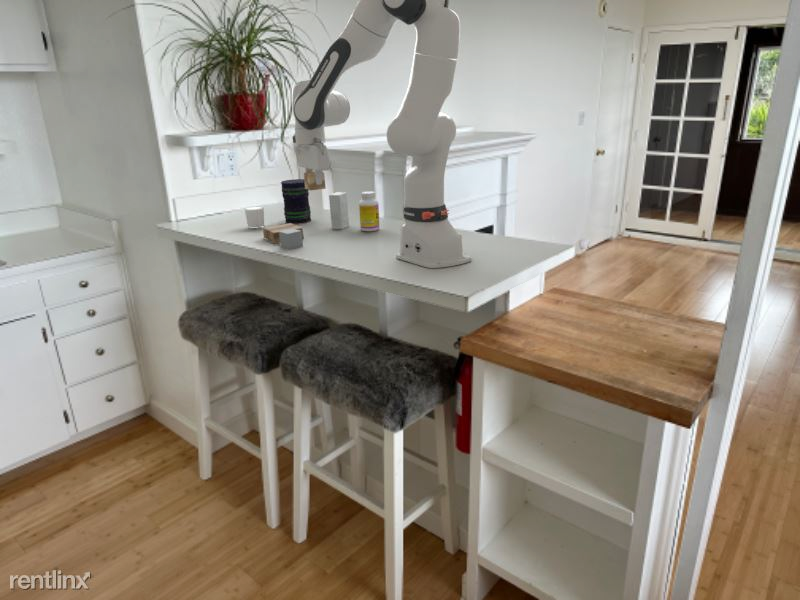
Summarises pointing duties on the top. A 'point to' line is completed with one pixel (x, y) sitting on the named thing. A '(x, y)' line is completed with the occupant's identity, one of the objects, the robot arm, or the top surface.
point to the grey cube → (290, 238)
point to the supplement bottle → (369, 212)
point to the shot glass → (255, 216)
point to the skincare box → (339, 210)
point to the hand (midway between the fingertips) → (314, 183)
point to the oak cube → (313, 181)
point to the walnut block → (273, 231)
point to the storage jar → (296, 201)
